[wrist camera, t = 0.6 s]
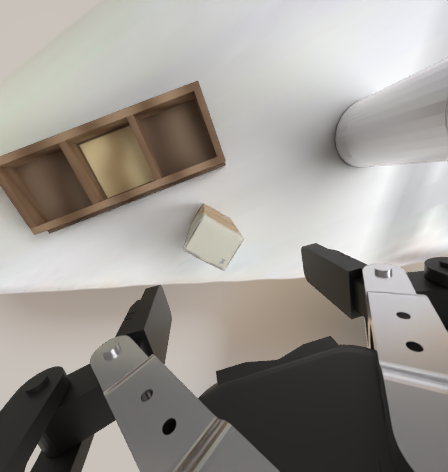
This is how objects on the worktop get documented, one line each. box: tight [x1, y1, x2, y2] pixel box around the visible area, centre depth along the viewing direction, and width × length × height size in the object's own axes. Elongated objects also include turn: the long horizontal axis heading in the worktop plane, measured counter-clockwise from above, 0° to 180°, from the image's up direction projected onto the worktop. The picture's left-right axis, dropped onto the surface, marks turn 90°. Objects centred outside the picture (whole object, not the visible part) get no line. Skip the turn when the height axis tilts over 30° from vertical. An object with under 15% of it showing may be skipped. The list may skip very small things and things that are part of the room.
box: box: [183, 204, 244, 271], centre depth 26 cm, size 5×4×11 cm
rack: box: [0, 81, 225, 235], centre depth 26 cm, size 26×10×4 cm, turn 110°
